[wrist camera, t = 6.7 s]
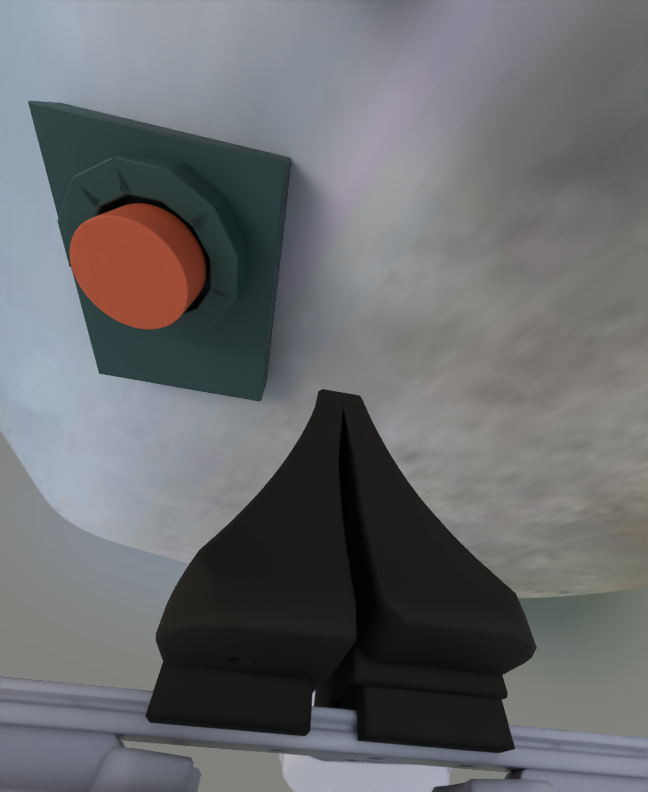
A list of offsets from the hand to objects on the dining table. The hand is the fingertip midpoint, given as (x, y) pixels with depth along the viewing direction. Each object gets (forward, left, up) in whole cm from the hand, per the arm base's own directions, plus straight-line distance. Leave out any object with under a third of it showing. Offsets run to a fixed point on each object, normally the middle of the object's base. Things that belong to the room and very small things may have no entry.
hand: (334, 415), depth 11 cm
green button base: (-4, +7, -10) cm, 13 cm away
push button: (-2, +8, -7) cm, 11 cm away
